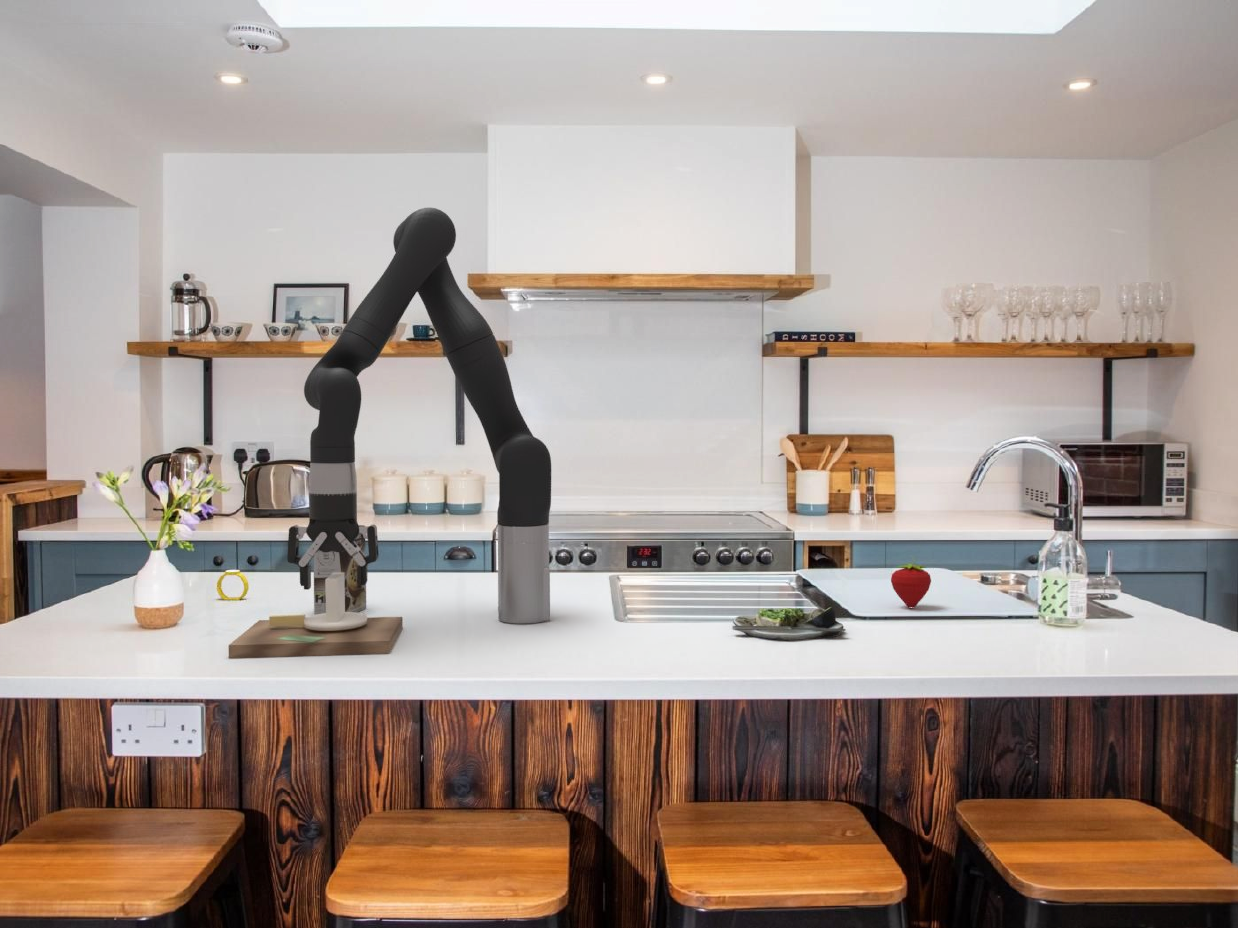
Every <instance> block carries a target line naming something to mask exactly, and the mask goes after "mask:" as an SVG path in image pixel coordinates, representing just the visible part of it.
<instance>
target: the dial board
mask: <svg viewBox="0 0 1238 928" xmlns="http://www.w3.org/2000/svg"><path fill="white" fill-rule="evenodd" d="M403 619H404V618H403V616H380V617H379V616H377V617H376V616H375V617H371V616H370V617H367V624H365V625H363V626H361V627H357V628H352V629H346V630H335V631H318V630H310V629H307V628H305V627H304V625H303V626H269V619H259V620H258V621H257V622H255V623H254V624H253V625H252V626H250V627H249V628H248V629H246V630H245V631H244V632H243V633H241V635H239V636H238V637H237V638H235V639H234V640H233V641H232V642H231V643H229V644H228V658H229V659H239V658H240V659H242V658H244V659H246V658H251V659H252V658H273V657H274V658H277V657H278V658H279V657H280V658H281V657H286V658H287V657H311V656H312V657H316V656H318V657H320V656H346V655H347V656H348V655H349V656H352V655H375V654H376V655H379V654H380V655H381V654H382V655H383V654H384V655H385V654H386V655H387V654H390V652H392V649H393V647H394V646H395V643H396V642H397V640H398V638H399V636H400V634H401V632H402V630H403Z"/></svg>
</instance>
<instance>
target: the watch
mask: <svg viewBox="0 0 1238 928" xmlns="http://www.w3.org/2000/svg"><path fill="white" fill-rule="evenodd" d="M226 576H237V577H239V578H240V580H241V581H242V583H243V591H242V594H241V595H240V596H238V597H237V596H236V597H229V596H227V595H226V594H225V593H224V591H223V589H222V582H223V580H224V578H225V577H226ZM248 591H249V581H248V579H247V577H246V575H244V574H243V573H242V572H241V570H240V569H228V570H225V571H224V573H223V574H221V575H220V576H219V578H218V580H217V582H216V592H217V593H218V595H219V597H220V598H222V600H224V601H240V600H242V599H243V598H245V597H246V595H247V594H248Z"/></svg>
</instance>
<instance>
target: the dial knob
mask: <svg viewBox="0 0 1238 928" xmlns="http://www.w3.org/2000/svg"><path fill="white" fill-rule="evenodd" d="M325 592H326V613H322V614H317V615H314V614H312V615H309V616H307V617H306V614H279V615H278V614H277V615H275V614H274V615H273V614H272V615H269V617H268V620H269V626H303V625H304V627H305V628H307V629H310V630H318V631H335V630H346V629H352V628H357V627H361V626H363V625H365V624H367V618H368V615H367V614H365V613H362V612H345V584H344V572H337V573H332V574H331V575H330V576H329V577H328V578H327V579H325Z"/></svg>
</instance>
